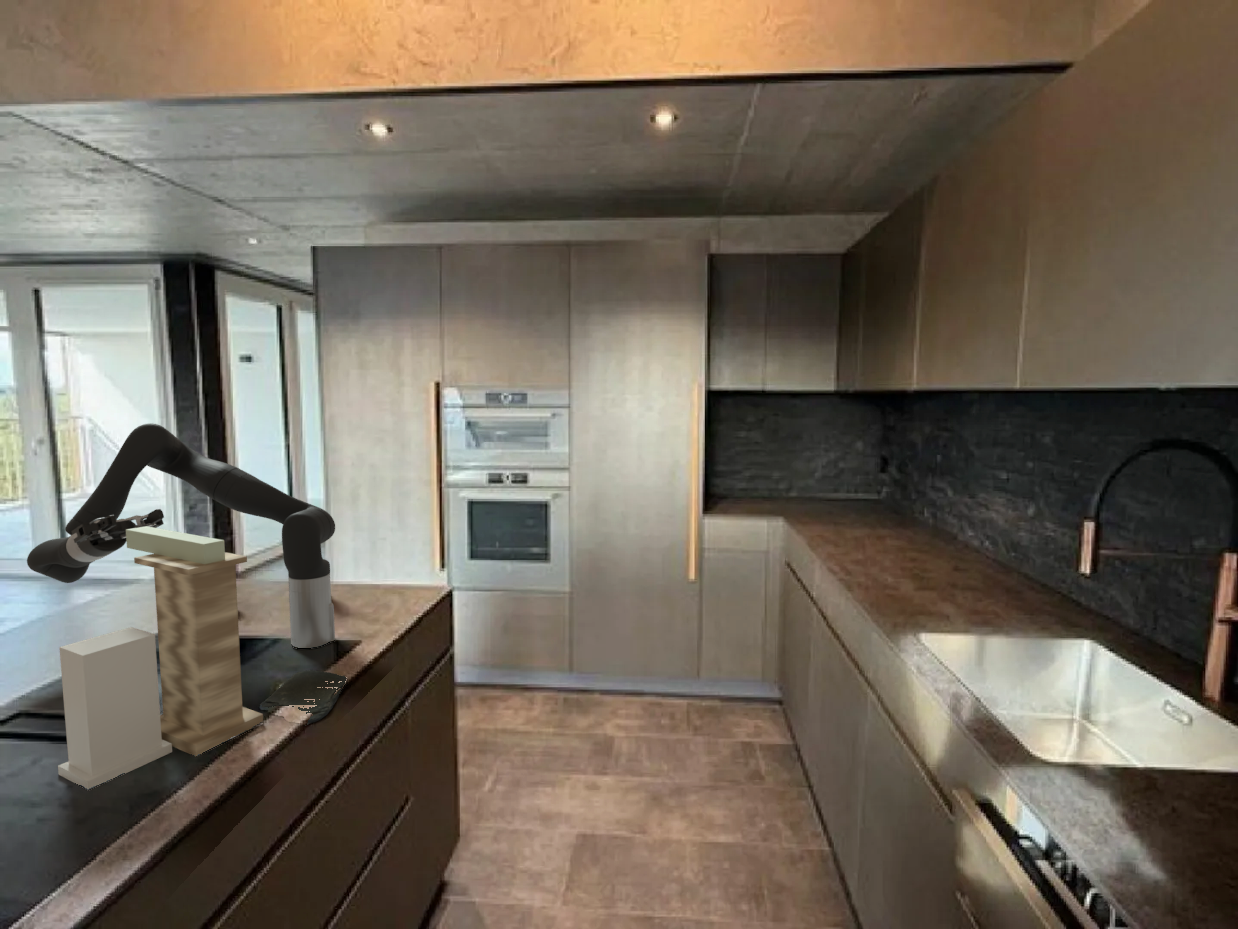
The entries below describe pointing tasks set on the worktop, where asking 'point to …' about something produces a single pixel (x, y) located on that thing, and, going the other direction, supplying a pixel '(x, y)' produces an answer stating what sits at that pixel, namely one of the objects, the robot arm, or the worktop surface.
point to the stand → (199, 652)
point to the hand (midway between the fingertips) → (137, 516)
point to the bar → (176, 544)
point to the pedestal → (111, 706)
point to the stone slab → (308, 692)
